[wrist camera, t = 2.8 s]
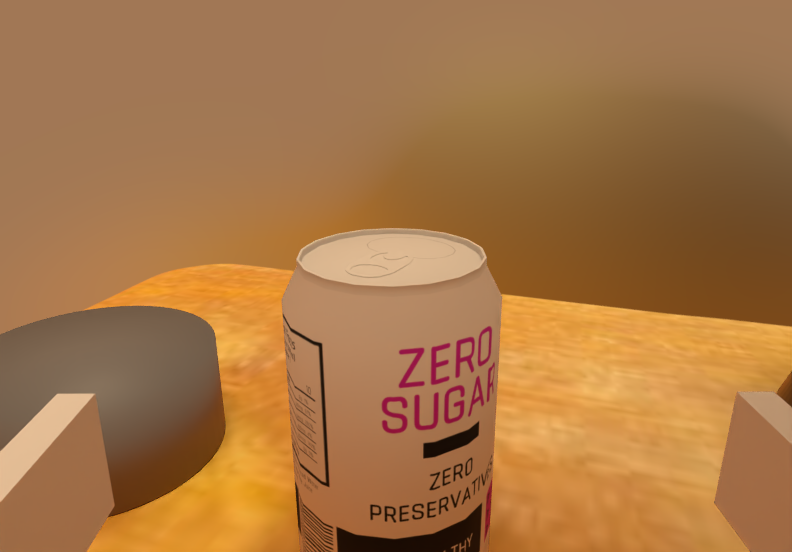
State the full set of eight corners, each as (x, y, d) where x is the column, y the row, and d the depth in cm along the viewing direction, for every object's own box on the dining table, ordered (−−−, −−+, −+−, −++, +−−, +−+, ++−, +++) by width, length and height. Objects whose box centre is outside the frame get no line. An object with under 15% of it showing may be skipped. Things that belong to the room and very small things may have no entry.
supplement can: (364, 489, 34) (356, 216, 29) (512, 543, 30) (533, 240, 25) (264, 598, 27) (231, 267, 22) (438, 686, 23) (446, 311, 18)
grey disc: (125, 367, 47) (112, 292, 45) (272, 417, 40) (265, 332, 38) (-86, 471, 35) (-116, 376, 33) (71, 565, 29) (46, 454, 27)
